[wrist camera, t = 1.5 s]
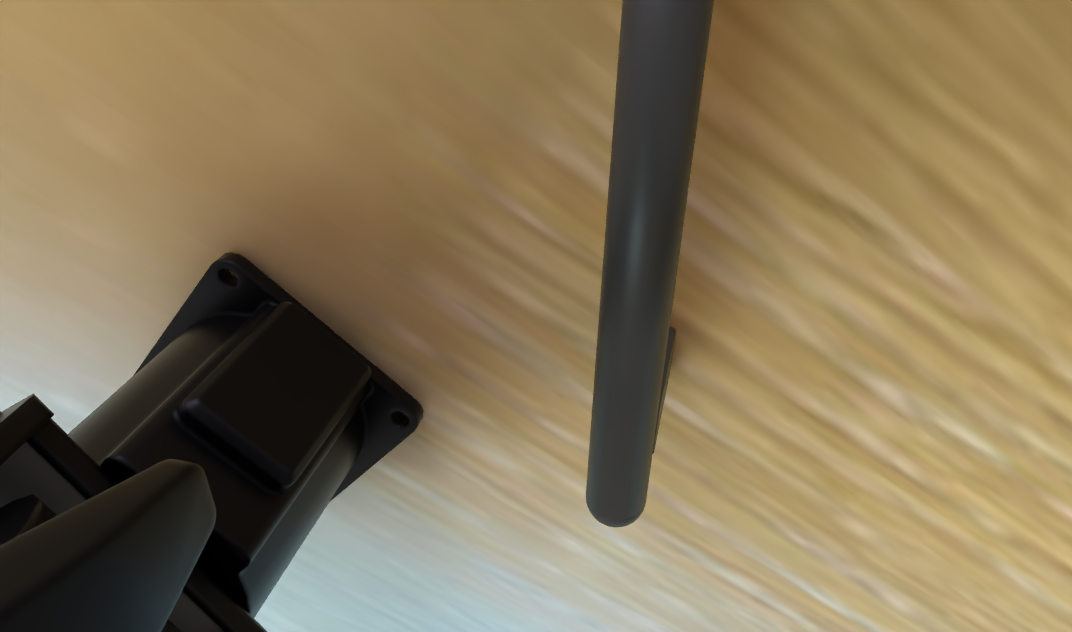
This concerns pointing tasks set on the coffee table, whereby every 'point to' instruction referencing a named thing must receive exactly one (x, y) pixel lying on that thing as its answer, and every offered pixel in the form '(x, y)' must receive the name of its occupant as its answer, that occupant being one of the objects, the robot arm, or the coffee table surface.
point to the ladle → (643, 244)
